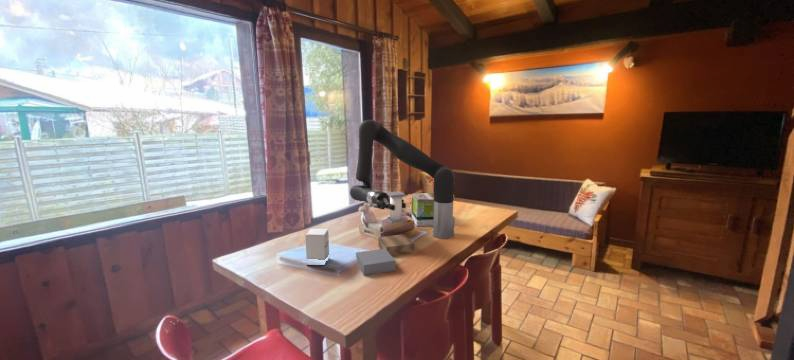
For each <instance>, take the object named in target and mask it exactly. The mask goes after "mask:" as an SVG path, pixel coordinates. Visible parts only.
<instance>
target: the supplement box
mask: <svg viewBox="0 0 794 360" xmlns="http://www.w3.org/2000/svg"><path fill="white" fill-rule="evenodd" d="M305 251H306V252H305V254H306V258H307V259H318V260H325V259H326V258H327V257H328V255H329V256H330V239H329V228H310V229H309V230H308V232H307V233H305ZM306 258H305V259H306ZM307 259H306V260H307Z"/></svg>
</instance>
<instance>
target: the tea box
mask: <svg viewBox="0 0 794 360" xmlns="http://www.w3.org/2000/svg"><path fill="white" fill-rule="evenodd" d="M411 195H412V197H411V219H412V221H413V220H414V221H413V222H414V223H415V226H417V227H429V226H430V227H431V226H432V227H433V215H434V196H433V195H431V194H430V193H427V192H425V193H423V192H421V193H419V192H418V193H411Z"/></svg>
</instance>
